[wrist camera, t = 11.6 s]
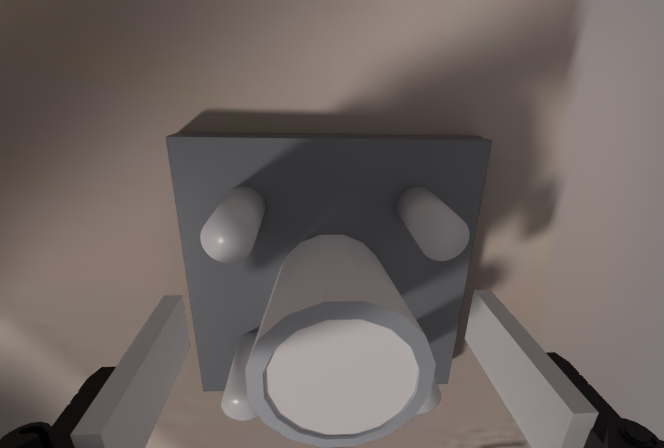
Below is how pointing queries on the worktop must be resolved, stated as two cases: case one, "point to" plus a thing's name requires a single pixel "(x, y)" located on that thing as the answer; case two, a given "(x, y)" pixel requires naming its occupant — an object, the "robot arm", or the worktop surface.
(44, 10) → the worktop surface
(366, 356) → the shot glass
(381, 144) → the pin plate
